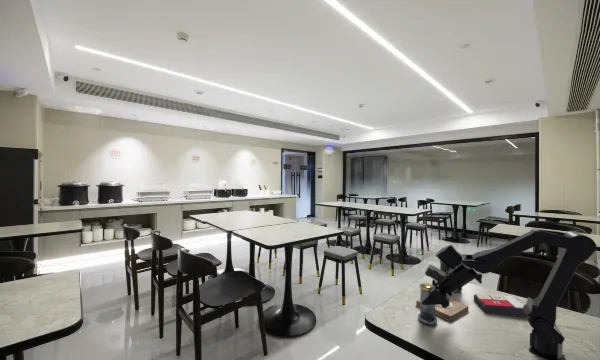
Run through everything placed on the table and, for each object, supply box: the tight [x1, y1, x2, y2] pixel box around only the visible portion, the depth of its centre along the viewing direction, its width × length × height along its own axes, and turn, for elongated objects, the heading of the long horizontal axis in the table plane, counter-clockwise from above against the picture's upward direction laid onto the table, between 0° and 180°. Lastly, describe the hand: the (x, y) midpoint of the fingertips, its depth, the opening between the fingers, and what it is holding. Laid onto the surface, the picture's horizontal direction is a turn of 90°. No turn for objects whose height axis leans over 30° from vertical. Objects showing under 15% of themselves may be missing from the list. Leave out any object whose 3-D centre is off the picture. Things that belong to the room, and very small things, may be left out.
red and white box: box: [473, 293, 527, 319], centre depth 106 cm, size 11×4×15 cm
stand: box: [415, 298, 469, 322], centre depth 106 cm, size 14×14×2 cm
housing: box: [417, 282, 438, 326], centre depth 96 cm, size 6×6×13 cm
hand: (423, 300), depth 97 cm, fingers closed on housing, 5 cm apart
